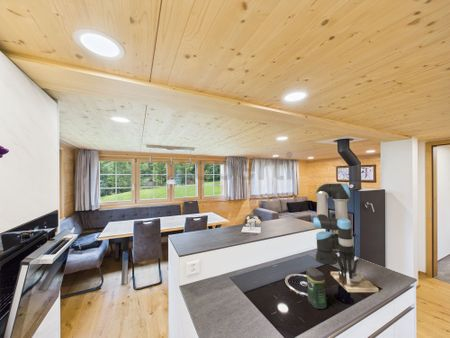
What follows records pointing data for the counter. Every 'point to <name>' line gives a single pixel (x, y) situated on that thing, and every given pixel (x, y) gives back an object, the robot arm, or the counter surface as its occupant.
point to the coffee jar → (316, 288)
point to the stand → (357, 285)
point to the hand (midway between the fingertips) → (348, 283)
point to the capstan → (355, 279)
